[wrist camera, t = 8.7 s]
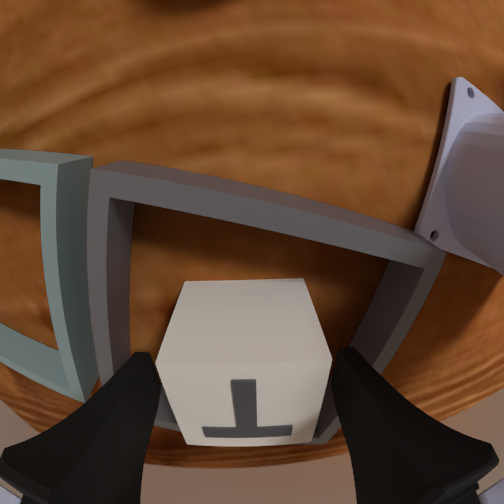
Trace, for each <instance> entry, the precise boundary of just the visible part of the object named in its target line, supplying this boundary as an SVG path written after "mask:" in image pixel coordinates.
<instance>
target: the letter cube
mask: <svg viewBox="0 0 504 504" xmlns="http://www.w3.org/2000/svg"><path fill="white" fill-rule="evenodd" d="M331 363H332V357H331V354H330V351H329V348H328V345H327V342H326V339H325V337H324V334H323V331H322V328H321V325H320V322H319V320H318V317H317V314H316V311H315V309H314V306H313V303H312V300H311V298H310V295H309V292H308V289H307V287H306V284H305V281H304V279H303V278H292V279H265V280H230V281H185V283H184V285H183V288H182V290H181V293H180V296H179V298H178V301H177V304H176V306H175V309H174V312H173V314H172V317H171V320H170V322H169V325H168V328H167V331H166V334H165V336H164V339H163V342H162V345H161V348H160V351H159V354H158V356H157V359H156V362H155V364H156V367H157V370H158V373H159V376H160V379H161V381H162V384H163V387H164V390H165V392H166V395H167V398H168V400H169V403H170V406H171V408H172V411H173V413H174V416H175V418H176V420H177V423H178V425H179V427H180V430H181V432H182V434H183V437H184V439H185V441H186V443H187V444H188V445H203V446H271V445H285V444H297V443H306V442H311V441H312V438H313V434H314V431H315V427H316V424H317V420H318V417H319V413H320V409H321V405H322V402H323V398H324V394H325V390H326V385H327V381H328V377H329V372H330V368H331Z"/></svg>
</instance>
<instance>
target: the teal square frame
mask: <svg viewBox="0 0 504 504" xmlns="http://www.w3.org/2000/svg"><path fill="white" fill-rule="evenodd" d="M92 162H93V156H84V155H76V154H66V153H56V152H44V151H31V150H15V149H0V179H5V180H11V181H18V182H24V183H30V184H37V185H41V191H40V221H41V243H42V256H43V266H44V275H45V283H46V290H47V296H48V302H49V308H50V313H51V318H52V323H53V328H54V332H55V337H56V341H57V345H58V349H59V351H58V350H55V349H53V348H51V347H48V346H46V345H44V344H41V343H39V342H37V341H35V340H33V339H31V338H29V337H27V336H24V335H22V334H20V333H18V332H16V331H14V330H13V329H11V328H9V327H7V326H5V325H3V324H1V323H0V362H2V363H4V364H5V365H7V366H9V367H10V368H12V369H14V370H16V371H17V372H19V373H21V374H23V375H25V376H27V377H28V378H30V379H32V380H34V381H36V382H38V383H40V384H42V385H44V386H46V387H48V388H50V389H53V390H55V391H57V392H59V393H61V394H64V395H66V396H68V397H71V398H73V399H75V400H78V401H80V402H83V403H85V402H87V400H88V398H89V396H90V394H91V392H92V390H93V388H94V386H95V384H96V381H97V379H98V377H99V370H98V364H97V359H96V353H95V346H94V339H93V332H92V324H91V315H90V304H89V291H88V273H87V213H88V195H89V183H90V172H91V169H92Z"/></svg>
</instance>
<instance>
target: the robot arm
mask: <svg viewBox="0 0 504 504" xmlns="http://www.w3.org/2000/svg"><path fill="white" fill-rule="evenodd" d="M467 90H468V92H469V96H468V93H467ZM432 231H434V235H433V236H432V237H431V238H430V235H431V233H432ZM414 232H415V233H416V234H418V235H420V236H423V237H424V238H426V239H427V240H428V241H430V242H431V243H433V244H434V245H436V246H437V247H438V248H440V249H441V250H444V251H447V252H450V253H453V254H455V255H458V256H461V257H464V258H467V259H469V260H472V261H475V262H477V263H480V264H483V265H485V266H488V267H491V268H493V269H495V270H496V271H498V272H499V273H500V274H502V275H503V276H504V112H503V111H502V110H501V109H500V108H499V107H498V106H497V105H496V104H495V103H494V102H492V101H491V100H490V99H489V98H488V97H487V96H485V95H484V94H483V93H482V92H481V91H479V90H478V89H477V88H476V87H475V86H473V85H472V84H471V83H469V82H468V81H467V80H466V79H464V78H462V77H456V78H454V79H453V80H452V82H451V90H450V96H449V103H448V108H447V114H446V119H445V124H444V129H443V134H442V138H441V143H440V147H439V151H438V155H437V159H436V163H435V166H434V170H433V174H432V177H431V180H430V184H429V187H428V190H427V194H426V197H425V200H424V203H423V206H422V209H421V212H420V215H419V218H418V221H417V223H416V226H415V230H414ZM331 388H332V394H333V399H334V404H335V408H336V411H337V414H338V417H339V421H340V424H341V427H342V430H343V433H344V436H345V439H346V443H347V446H348V449H349V453H350V457H351V462H352V468H353V474H354V481H355V489H356V498H357V504H504V478H502V479H501V480H499V481H498V482H497V483H495V484H494V485H492V486H491V487H489V488H488V489H486V490H485V491H483V492H482V493H481V494H479V495H477V493H476V490H478V489H479V485H478V483H477V482H478V481H479V480H480V479H481V478H483V477H484V476H485V475H486V474H488V473H489V472H490V471H491V470H492V469H494V468H495V467H496V466H497V465H498V463H499V458H498V456H497V454H496V452H495V450H494V448H493V447H492V445H491V444H490V443H487V442H484V441H481V440H478V439H475V438H472V437H469V436H467V435H464V434H462V433H460V432H458V431H455V430H453V429H451V428H449V427H447V426H445V425H444V424H442V423H440V422H439V421H437V420H435V419H434V418H432V417H430V416H429V415H427V414H426V413H424V412H423V411H422V410H420V409H419V408H417V407H416V406H415V405H413V404H412V403H411V402H409V401H408V400H407V399H406V398H405V397H403V396H402V395H401V394H400V393H399V392H398V391H396V390H395V389H394V388H393V387H392V386H391V385H390V384H389V383H388V382H387V381H386V380H385V379H384V378H383V377H382V376H381V375H380V374H379V373H378V372H377V371H376V370H375V369H374V368H373V367H372V366H371V365H370V364H369V363H368V362H367V361H366V360H365V358H364V357H363V356H362V355H361V354H360V353H359V352H358V351H357V350H356V349H355V348H354V347H347V348H339V349H338V353H337V358H336V362H335V367H334V371H333V375H332V380H331ZM160 393H161V384H160V381H159V379H158V376H157V373H156V370H155V367H154V364H153V361H152V359H151V355H150V353H147V352H135V353H134V354H133V355H132V356H131V357H130V358H129V359H128V360H127V361H126V362H125V363H124V364H123V365H122V366H121V368H120V369H119V370H118V371H117V372H116V373H115V374H114V375H113V376H112V377H111V378H110V379H109V380H108V381H107V382H106V383H105V384H104V385H103V386H102V387H101V388H100V389H99V390H98V391H97V392H96V393H95V394H94V395H93V396H92V397H91V398H90V399H89V400H88V401H87V402H85V403H84V404H83V405H82V406H81V407H80V408H78V409H77V410H76V411H75V412H73V413H72V414H71V415H69V416H68V417H67V418H65V419H64V420H62V421H61V422H59V423H57V424H56V425H54V426H53V427H51V428H50V429H48V430H46V431H44V432H42V433H41V434H39V435H37V436H35V437H32V438H30V439H28V440H26V441H24V442H21V443H18V444H15V445H13V446H10V447H7V448H5V449H4V451H3V453H2V455H1V457H0V478H2V479H3V480H4V481H6V482H7V483H8V484H10V485H11V486H12V487H14V488H15V489H16V490H18V491H19V492H21V493H22V494H23V497H22V499H21V498H20V497H18V496H17V495H15V494H14V493H12V492H11V491H9V490H8V489H6V488H5V487H3V486H2V485H0V504H140V494H141V481H142V473H143V465H144V459H145V454H146V450H147V446H148V443H149V439H150V436H151V432H152V429H153V425H154V421H155V418H156V414H157V411H158V406H159V400H160Z"/></svg>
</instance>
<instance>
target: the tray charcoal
mask: <svg viewBox="0 0 504 504" xmlns="http://www.w3.org/2000/svg"><path fill="white" fill-rule="evenodd" d="M135 202H137V203H142V204H148V205H153V206H158V207H163V208H168V209H173V210H178V211H182V212H187V213H192V214H197V215H202V216H206V217H211V218H216V219H220V220H225V221H230V222H234V223H239V224H243V225H248V226H252V227H257V228H261V229H266V230H270V231H275V232H279V233H283V234H288V235H292V236H296V237H300V238H305V239H309V240H313V241H317V242H322V243H326V244H330V245H334V246H338V247H342V248H346V249H350V250H354V251H358V252H362V253H366V254H370V255H374V256H378V257H382V258H386V259H390V260H389V262H388V265H387V267H386V270H385V272H384V274H383V276H382V279H381V281H380V283H379V285H378V288H377V290H376V292H375V294H374V296H373V299H372V301H371V303H370V305H369V307H368V309H367V311H366V313H365V315H364V317H363V319H362V321H361V323H360V325H359V327H358V329H357V331H356V333H355V335H354V337H353V338H352V340H351V342H350V344H349V346H348V347H354V348H355V349H356V350H357V351H358V352H359V353H360V354H361V355H362V356H363V357H364V358H365V360H366V361H367V362H368V363H369V364H370V365H371V366H372V367H373V368H374V369H375V370H376V371H377V372H378V373H379V374H380V375H381V374H382V372H383V371H384V369H385V368H386V366H387V365H388V363H389V362H390V360H391V359H392V357H393V356H394V354H395V352H396V351H397V349H398V348H399V346H400V344H401V343H402V341H403V339H404V338H405V336H406V334H407V333H408V331H409V329H410V327H411V326H412V324H413V322H414V320H415V319H416V317H417V315H418V313H419V311H420V309H421V307H422V306H423V304H424V302H425V300H426V298H427V296H428V294H429V292H430V290H431V288H432V286H433V284H434V281H435V279H436V277H437V275H438V273H439V271H440V268H441V266H442V264H443V261H444V259H445V257H446V254H447V253H445V252H444V251H442V250H441V249H440V248H438V247H437V246H436V245H434V244H433V243H431V242H430V241H428V240H427V239H426V238H424V237H423V236H420V235H418V234H416V233H415V232H414V231H412V230H410V229H407V228H404V227H401V226H398V225H395V224H392V223H388V222H385V221H382V220H379V219H376V218H373V217H370V216H366V215H363V214H360V213H356V212H353V211H350V210H346V209H343V208H339V207H336V206H332V205H329V204H325V203H322V202H318V201H314V200H311V199H307V198H303V197H299V196H296V195H292V194H288V193H284V192H280V191H276V190H272V189H268V188H263V187H259V186H255V185H251V184H246V183H242V182H237V181H233V180H228V179H223V178H219V177H214V176H209V175H204V174H199V173H194V172H188V171H183V170H178V169H172V168H167V167H161V166H155V165H149V164H143V163H136V162H130V161H123V160H122V161H118V162H114V163H110V164H106V165H103V166H99V167H95V168H92V169H91V172H90V183H89V195H88V213H87V273H88V291H89V304H90V315H91V324H92V332H93V339H94V346H95V353H96V359H97V364H98V370H99V375H100V380H101V385H102V386H103V385H104V384H105V383H106V382H107V381H108V380H109V379H110V378H111V377H112V376H113V375H114V374H115V373H116V372H117V371H118V370H119V369H120V368H121V366H122V365H123V364H124V363H125V362H126V361H127V360H128V359H129V358H130V335H129V281H130V257H131V242H132V229H133V218H134V208H135ZM332 375H333V374H332ZM331 380H332V376H331V377H330V379H329V380H328V382H327V385H326V390H325V394H324V398H323V402H322V405H321V409H320V413H319V417H318V420H317V424H316V427H315V431H314V434H313V438H312V441H311V442H306V443H297V444H326V443H327V442H328V441H329V440H330V439H331V438H332V436H333V435H334V434H335V433H336V432H337V431H338V430H339V428H340V427H341V424H340V421H339V417H338V414H337V411H336V408H335V404H334V399H333V394H332V388H331ZM154 426H158V427H162V428H167V429H171V430H175V431H180V432H181V430H180V427H179V425H178V423H177V420H176V418H175V416H174V413H173V411H172V408H171V406H170V403H169V400H168V398H167V395H166V392H165V390H164V387H163V385H161V393H160V400H159V406H158V411H157V414H156V418H155V421H154Z"/></svg>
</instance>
